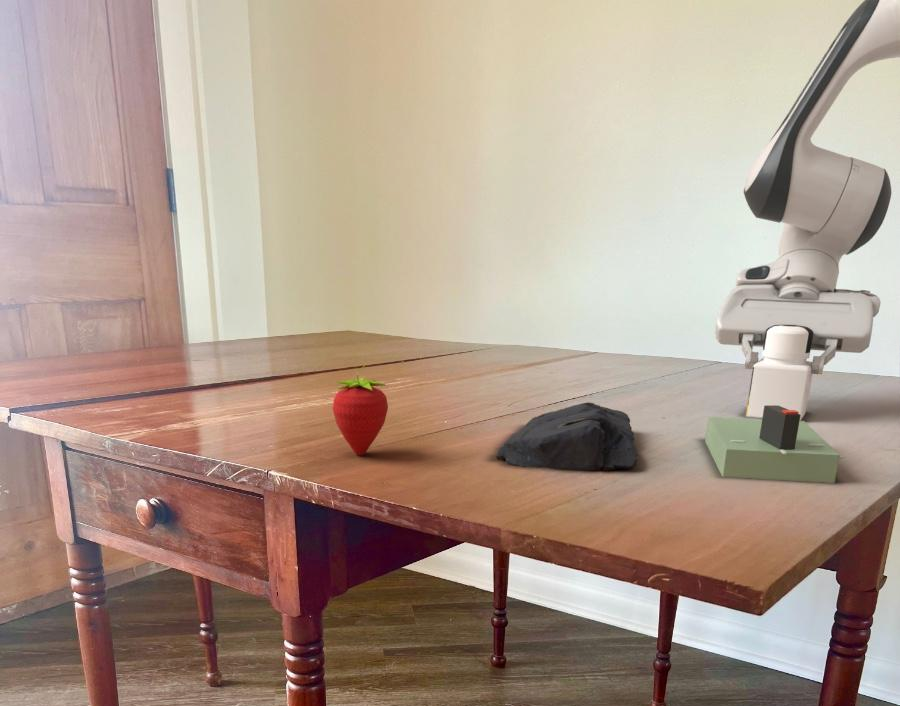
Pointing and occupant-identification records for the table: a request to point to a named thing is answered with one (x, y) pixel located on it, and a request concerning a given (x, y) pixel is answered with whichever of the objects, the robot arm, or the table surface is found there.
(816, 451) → the console
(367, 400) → the strawberry
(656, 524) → the table surface
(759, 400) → the medicine bottle
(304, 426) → the table surface
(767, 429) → the dark grey block
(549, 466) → the dark slate chunk
